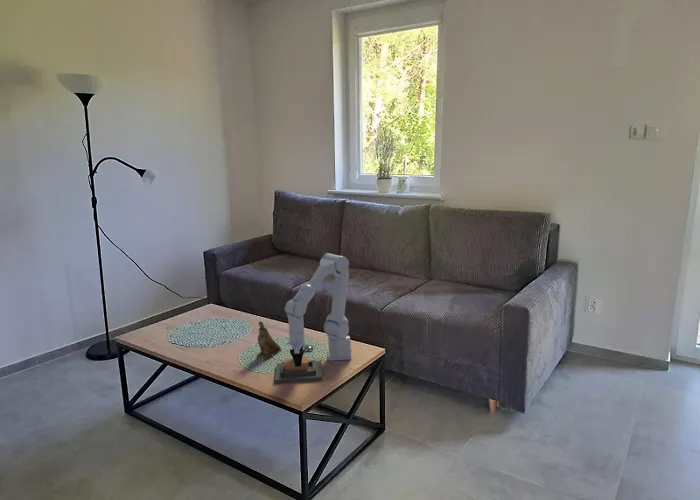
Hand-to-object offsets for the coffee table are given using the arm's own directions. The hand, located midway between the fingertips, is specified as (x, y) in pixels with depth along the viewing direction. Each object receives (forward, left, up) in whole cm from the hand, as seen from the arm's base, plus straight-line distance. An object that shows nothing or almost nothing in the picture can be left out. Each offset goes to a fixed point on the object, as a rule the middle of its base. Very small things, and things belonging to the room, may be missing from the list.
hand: (298, 363), depth 195 cm
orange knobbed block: (+1, 0, -3) cm, 3 cm away
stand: (0, 0, -4) cm, 4 cm away
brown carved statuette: (+13, -20, -5) cm, 24 cm away
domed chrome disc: (-4, -22, -5) cm, 23 cm away
